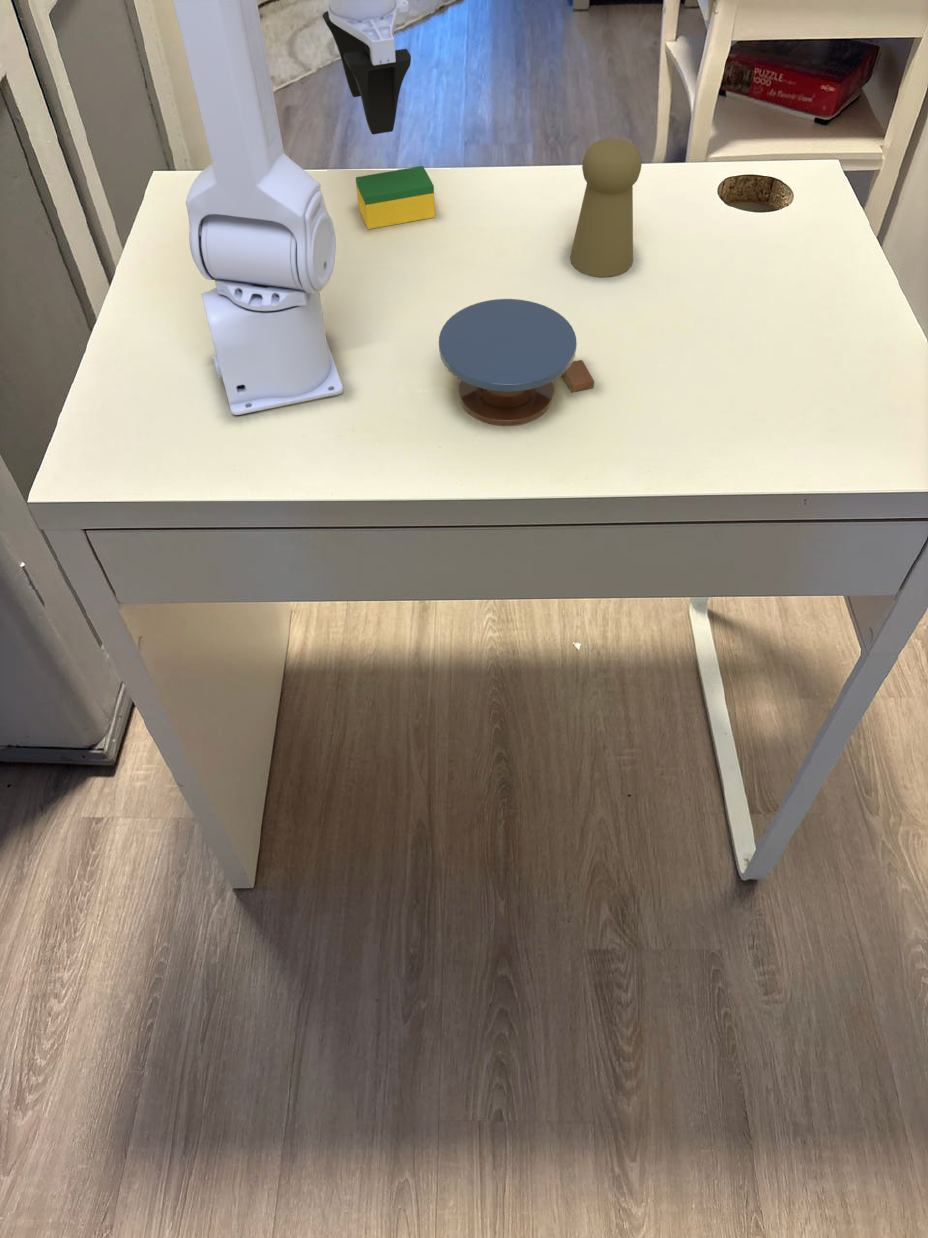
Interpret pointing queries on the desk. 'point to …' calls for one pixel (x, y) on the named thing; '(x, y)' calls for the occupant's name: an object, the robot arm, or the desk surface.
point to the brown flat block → (578, 377)
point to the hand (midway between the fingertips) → (371, 112)
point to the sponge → (395, 197)
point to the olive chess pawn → (607, 209)
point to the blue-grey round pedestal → (507, 358)
